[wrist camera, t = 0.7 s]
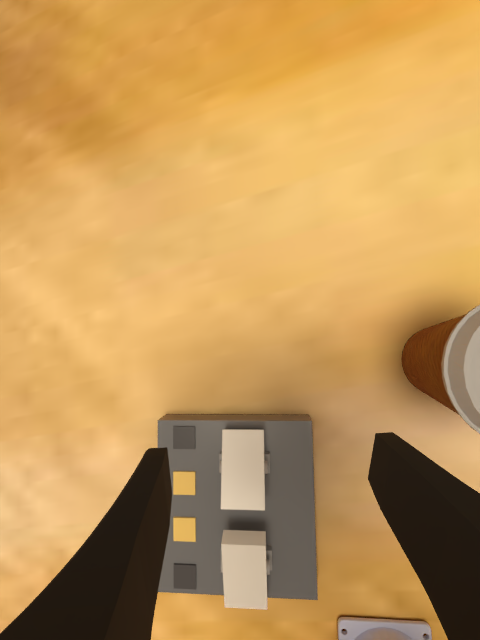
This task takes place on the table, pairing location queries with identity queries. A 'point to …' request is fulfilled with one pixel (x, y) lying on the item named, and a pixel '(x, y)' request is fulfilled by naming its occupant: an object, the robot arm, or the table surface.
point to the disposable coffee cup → (448, 364)
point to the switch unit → (210, 520)
